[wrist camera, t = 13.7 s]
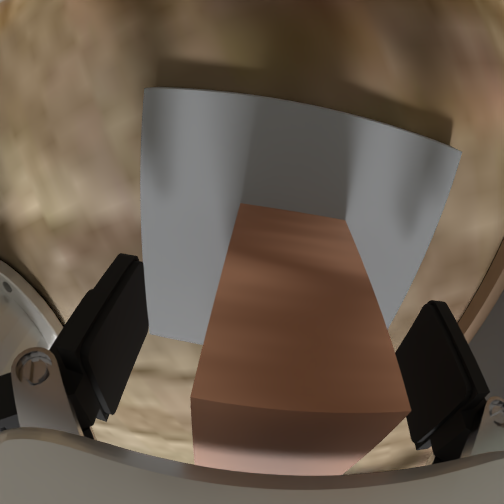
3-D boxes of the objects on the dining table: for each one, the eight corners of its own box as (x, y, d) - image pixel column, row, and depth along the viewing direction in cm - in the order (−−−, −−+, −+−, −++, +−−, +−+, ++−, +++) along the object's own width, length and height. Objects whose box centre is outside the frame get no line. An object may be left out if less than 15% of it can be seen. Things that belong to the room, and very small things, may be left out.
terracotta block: (230, 288, 14) (194, 467, 7) (240, 202, 11) (190, 397, 5) (319, 300, 14) (338, 477, 7) (345, 220, 11) (411, 411, 5)
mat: (155, 321, 16) (149, 334, 16) (154, 87, 10) (144, 88, 9) (364, 350, 17) (367, 364, 16) (450, 145, 10) (462, 152, 9)
